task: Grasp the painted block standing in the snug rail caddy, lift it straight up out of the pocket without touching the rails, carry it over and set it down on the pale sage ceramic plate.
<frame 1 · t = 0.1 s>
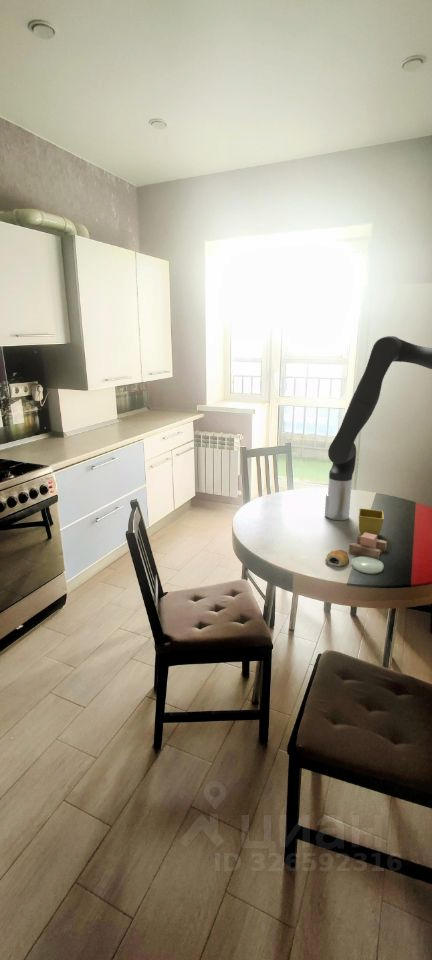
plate: (367, 566, 146), on the table
flower pot: (369, 535, 170), on the table
pastry: (337, 562, 150), on the table
caddy: (367, 551, 157), on the table
part: (367, 551, 157), resting in caddy
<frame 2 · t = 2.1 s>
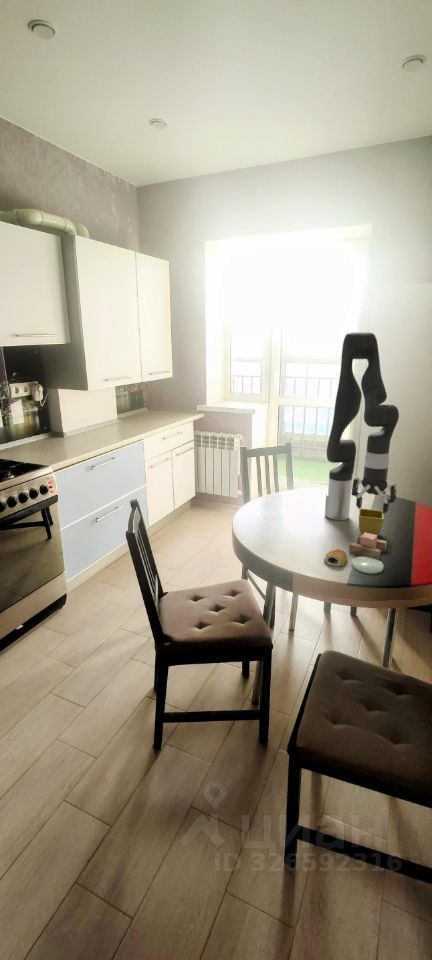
hand: (371, 510, 152), 16 cm above the table, fingers open, 8 cm apart
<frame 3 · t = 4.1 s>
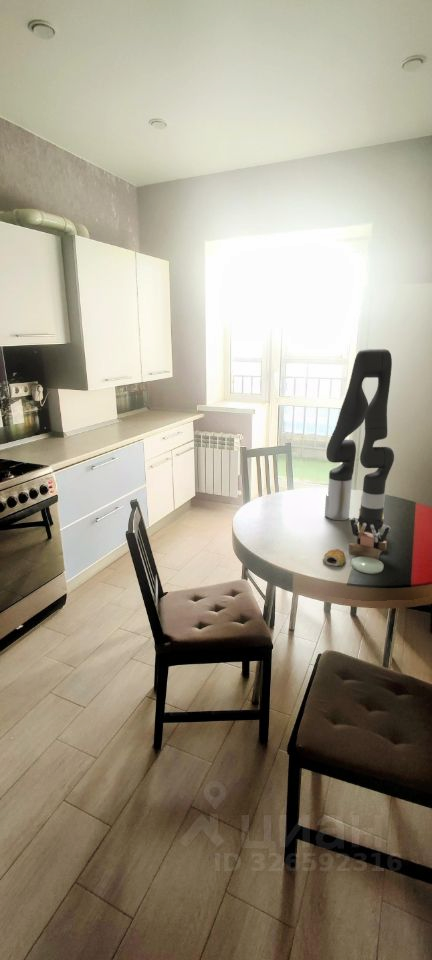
hand: (367, 548, 156), 1 cm above the table, fingers closed on part, 4 cm apart
part: (367, 551, 157), resting in caddy, touching gripper
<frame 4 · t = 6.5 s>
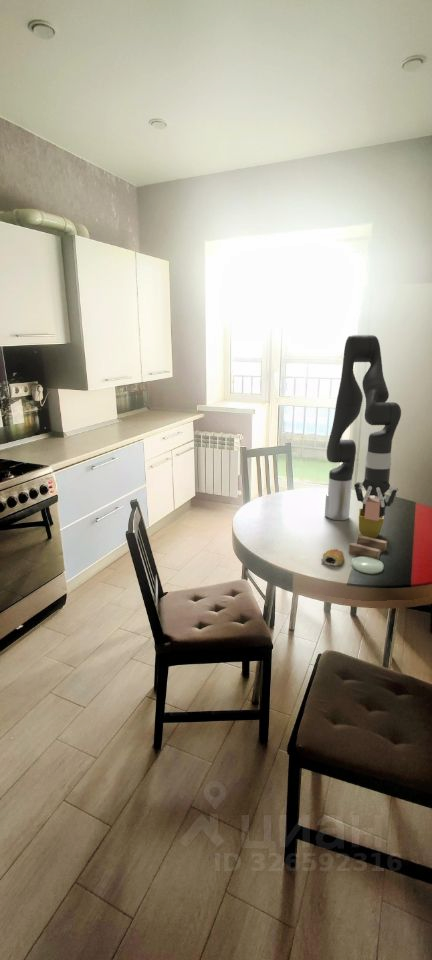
hand: (373, 515, 146), 16 cm above the table, fingers closed on part, 4 cm apart
part: (373, 517, 146), point 15 cm above the table, touching gripper
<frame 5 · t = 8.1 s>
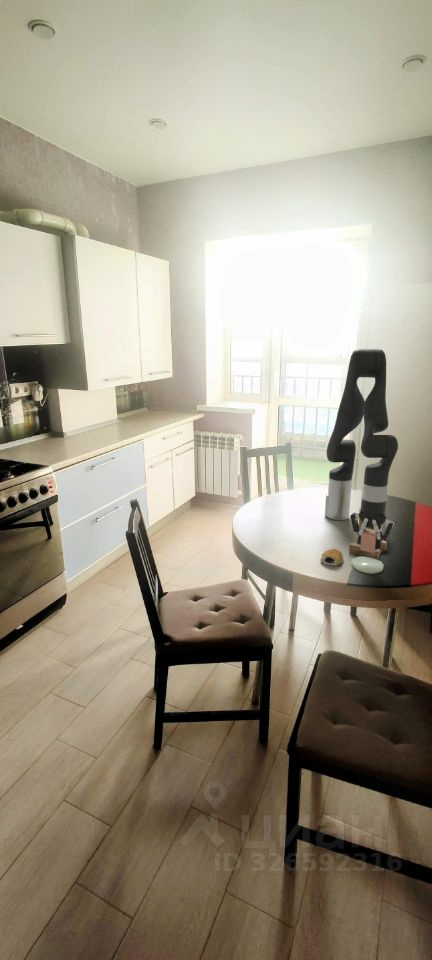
hand: (369, 546, 144), 7 cm above the table, fingers closed on part, 4 cm apart
part: (369, 549, 144), point 6 cm above the table, touching gripper
when the fingers open (3 cm above the table, at t = 9.2 s): part stays where it is, resting on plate.
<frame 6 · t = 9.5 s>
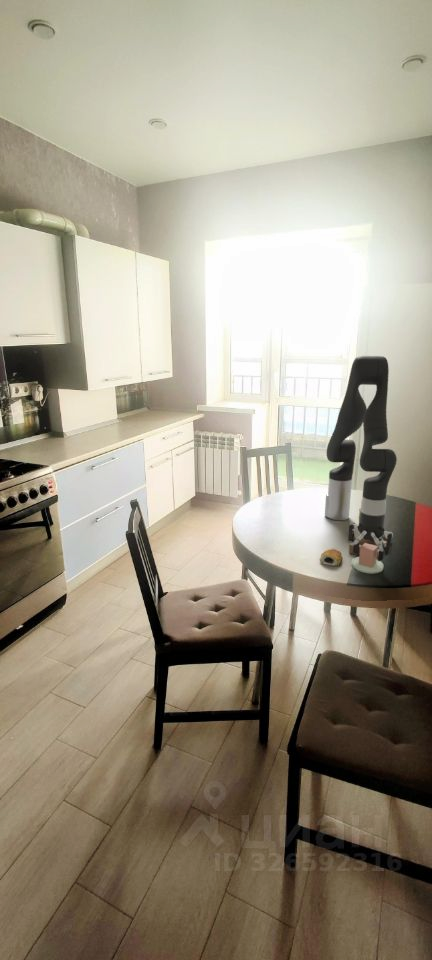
hand: (368, 557, 145), 3 cm above the table, fingers open, 7 cm apart
part: (367, 563, 146), point 1 cm above the table, touching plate
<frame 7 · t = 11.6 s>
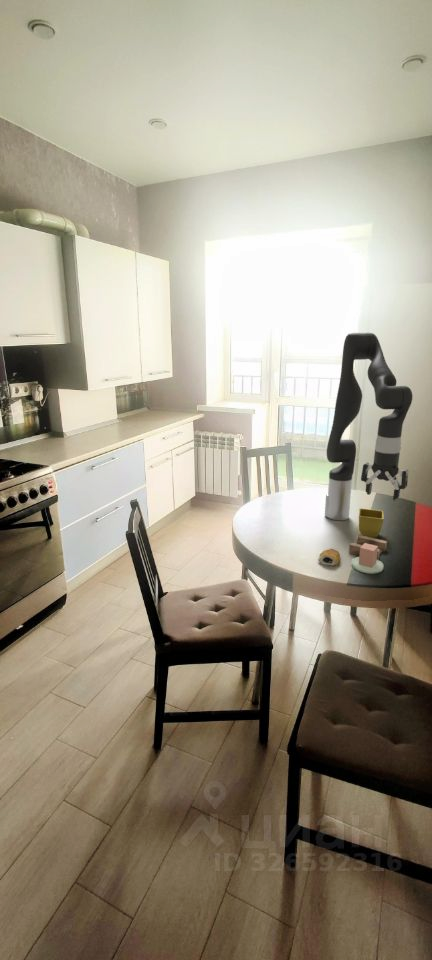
hand: (381, 496, 146), 22 cm above the table, fingers open, 8 cm apart
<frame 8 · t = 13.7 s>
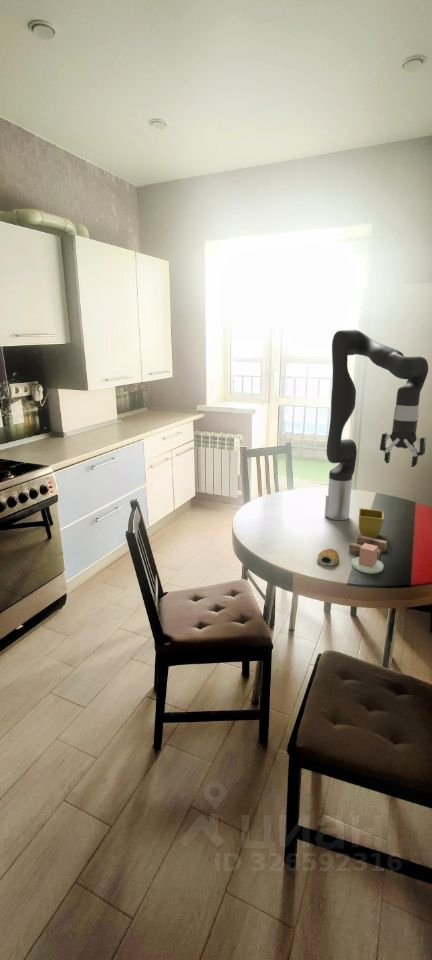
hand: (400, 464, 153), 30 cm above the table, fingers open, 8 cm apart
at the end: part inside the target area on the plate (0.0 cm from its centre), point 1.0 cm above the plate's base; part touching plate; the gripper is holding nothing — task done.
